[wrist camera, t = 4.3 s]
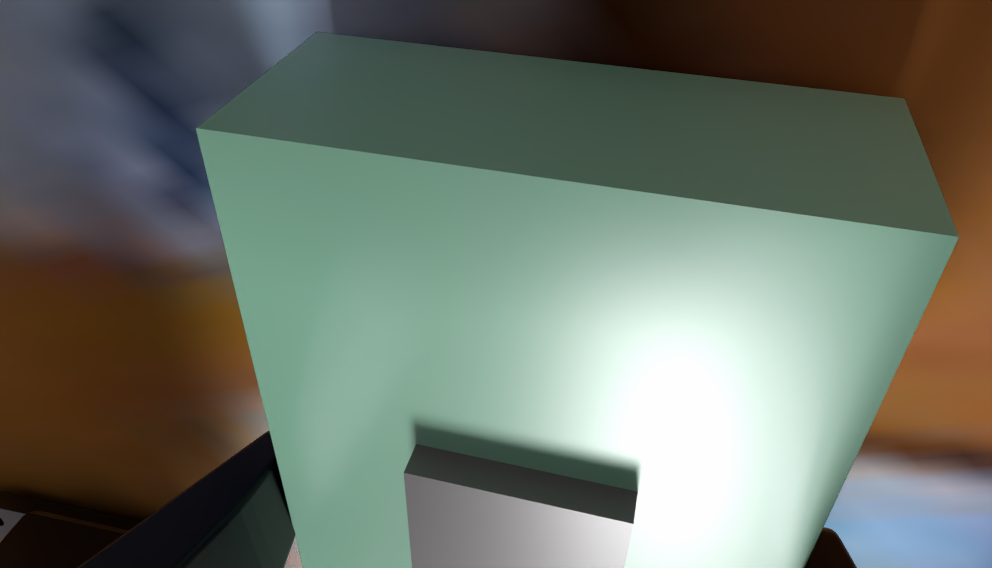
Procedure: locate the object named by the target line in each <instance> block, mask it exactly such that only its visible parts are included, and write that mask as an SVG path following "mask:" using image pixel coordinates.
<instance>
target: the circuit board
mask: <svg viewBox="0 0 992 568" xmlns="http://www.w3.org/2000/svg"><path fill="white" fill-rule="evenodd" d="M196 132H197V136H198V140H199V144H200V148H201V152H202V156H203V160H204V164H205V168H206V173H207V177H208V181H209V185H210V189H211V193H212V197H213V201H214V205H215V209H216V214H217V218H218V222H219V226H220V230H221V234H222V238H223V242H224V246H225V250H226V255H227V259H228V263H229V267H230V271H231V275H232V279H233V283H234V287H235V291H236V295H237V300H238V304H239V308H240V312H241V316H242V320H243V324H244V328H245V332H246V336H247V341H248V345H249V349H250V353H251V357H252V361H253V365H254V369H255V373H256V377H257V381H258V386H259V390H260V394H261V398H262V402H263V406H264V410H265V414H266V418H267V422H268V427H269V431H270V435H271V439H272V443H273V447H274V451H275V455H276V459H277V463H278V468H279V472H280V476H281V480H282V484H283V488H284V492H285V496H286V500H287V504H288V508H289V513H290V517H291V521H292V525H293V528H294V531H295V534H296V535H295V537H296V541H297V545H298V549H299V554H300V558H301V562H302V566H303V568H804V567H805V565H806V563H807V561H808V559H809V556H810V554H811V552H812V550H813V548H814V546H815V544H816V542H817V539H818V537H819V535H820V533H821V531H822V529H823V527H824V524H825V522H826V520H827V518H828V516H829V514H830V512H831V509H832V507H833V505H834V503H835V501H836V499H837V497H838V495H839V492H840V490H841V488H842V486H843V484H844V482H845V480H846V477H847V475H848V473H849V471H850V469H851V467H852V465H853V462H854V460H855V458H856V456H857V454H858V452H859V450H860V448H861V445H862V443H863V441H864V439H865V437H866V435H867V433H868V430H869V428H870V426H871V424H872V422H873V420H874V418H875V415H876V413H877V411H878V409H879V407H880V405H881V403H882V401H883V398H884V396H885V394H886V392H887V390H888V388H889V386H890V383H891V381H892V379H893V377H894V375H895V373H896V371H897V369H898V366H899V364H900V362H901V360H902V358H903V356H904V354H905V351H906V349H907V347H908V345H909V343H910V341H911V339H912V336H913V334H914V332H915V330H916V328H917V326H918V324H919V322H920V319H921V317H922V315H923V313H924V311H925V309H926V307H927V304H928V302H929V300H930V298H931V296H932V294H933V292H934V289H935V287H936V285H937V283H938V281H939V279H940V277H941V275H942V272H943V270H944V268H945V266H946V264H947V262H948V260H949V257H950V255H951V253H952V251H953V249H954V247H955V245H956V242H957V240H958V238H959V235H958V233H957V230H956V228H955V225H954V223H953V220H952V218H951V215H950V213H949V210H948V208H947V205H946V202H945V200H944V197H943V195H942V192H941V190H940V187H939V185H938V182H937V180H936V177H935V174H934V172H933V169H932V167H931V164H930V162H929V159H928V157H927V154H926V152H925V149H924V146H923V144H922V141H921V139H920V136H919V134H918V131H917V129H916V126H915V124H914V121H913V118H912V116H911V113H910V111H909V108H908V106H907V103H906V101H905V98H896V97H887V96H878V95H869V94H860V93H852V92H843V91H834V90H825V89H816V88H807V87H798V86H790V85H781V84H772V83H763V82H754V81H745V80H737V79H728V78H719V77H710V76H701V75H692V74H683V73H675V72H666V71H657V70H648V69H639V68H630V67H621V66H613V65H604V64H595V63H586V62H577V61H568V60H559V59H551V58H542V57H533V56H524V55H515V54H506V53H498V52H489V51H480V50H471V49H462V48H453V47H444V46H436V45H427V44H418V43H409V42H400V41H391V40H382V39H374V38H365V37H356V36H347V35H338V34H329V33H320V32H316V33H315V34H313V35H312V36H311V37H310V38H308V39H307V40H306V41H305V42H303V43H302V44H301V45H300V46H298V47H297V48H296V49H295V50H293V51H292V52H291V53H289V54H288V55H287V56H286V57H284V58H283V59H282V60H281V61H279V62H278V63H277V64H276V65H274V66H273V67H272V68H271V69H269V70H268V71H267V72H266V73H264V74H263V75H262V76H261V77H259V78H258V79H257V80H256V81H254V82H253V83H252V84H250V85H249V86H248V87H247V88H245V89H244V90H243V91H242V92H240V93H239V94H238V95H237V96H235V97H234V98H233V99H232V100H230V101H229V102H228V103H227V104H225V105H224V106H223V107H222V108H220V109H219V110H218V111H217V112H215V113H214V114H213V115H211V116H210V117H209V118H208V119H206V120H205V121H204V122H203V123H201V124H200V125H199V126H198V127H196Z"/></svg>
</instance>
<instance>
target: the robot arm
mask: <svg viewBox="0 0 992 568" xmlns="http://www.w3.org/2000/svg"><path fill="white" fill-rule="evenodd" d="M295 535H296V534H295V531H294V528H293V525H292V521H291V517H290V513H289V508H288V504H287V500H286V496H285V492H284V488H283V484H282V480H281V476H280V472H279V468H278V463H277V459H276V455H275V451H274V447H273V443H272V439H271V435H270V431H268V432H266V433H264V434H263V435H262V436H260V437H259V438H257V439H256V440H255V441H253V442H252V443H250V444H249V445H248V446H246V447H245V448H243V449H242V450H241V451H239V452H238V453H237V454H235V455H234V456H232V457H231V458H230V459H228V460H227V461H225V462H224V463H223V464H221V465H220V466H218V467H217V468H216V469H214V470H213V471H211V472H210V473H209V474H207V475H206V476H205V477H203V478H202V479H200V480H199V481H198V482H196V483H195V484H193V485H192V486H191V487H189V488H188V489H186V490H185V491H184V492H182V493H181V494H179V495H178V496H177V497H175V498H174V499H172V500H171V501H170V502H168V503H167V504H166V505H164V506H163V507H161V508H160V509H159V510H157V511H156V512H154V513H153V514H152V515H150V516H149V517H147V518H146V519H145V520H143V521H142V522H140V521H135V520H131V519H126V518H122V517H117V516H113V515H108V514H103V513H99V512H94V511H90V510H85V509H80V508H76V507H71V506H67V505H62V504H58V503H53V502H48V501H44V500H39V499H35V498H30V497H26V496H21V495H16V494H12V493H7V492H3V491H0V568H284V566H285V563H286V560H287V558H288V555H289V552H290V549H291V547H292V544H293V541H294V538H295ZM804 568H857V567H856V565H855V564H854V562H853V560H852V558H851V557H850V555H849V553H848V551H847V550H846V548H845V546H844V544H843V543H842V541H841V539H840V538H839V536H838V535H837V533H836V532H834V531H833V530H832V529H829V528H824V527H823V529H822V531H821V533H820V535H819V537H818V539H817V542H816V544H815V546H814V548H813V550H812V552H811V554H810V556H809V559H808V561H807V563H806V565H805V567H804Z"/></svg>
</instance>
